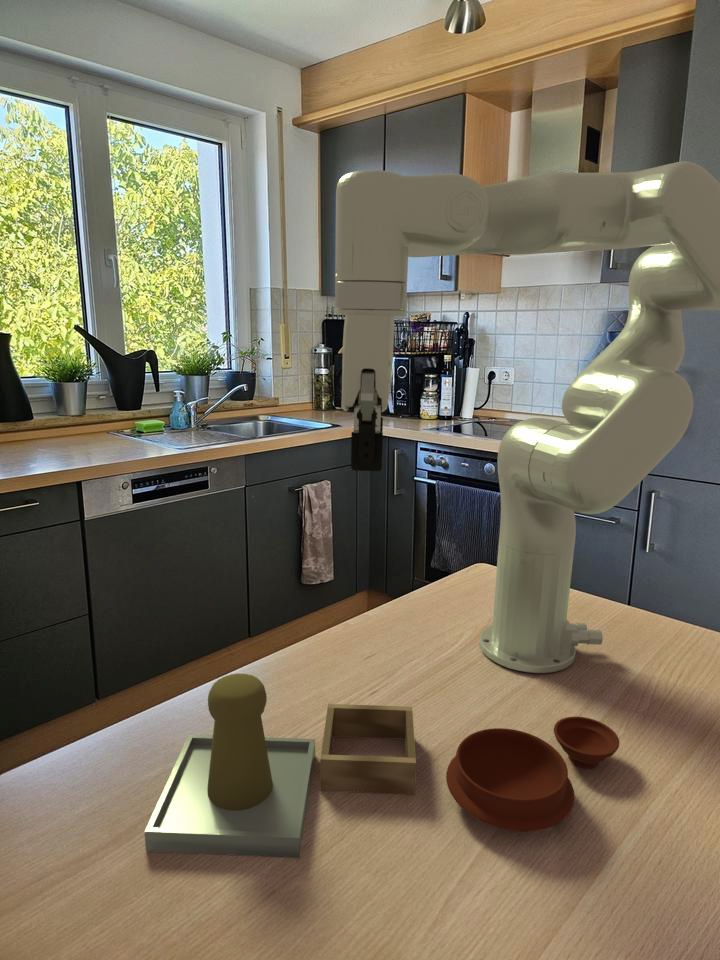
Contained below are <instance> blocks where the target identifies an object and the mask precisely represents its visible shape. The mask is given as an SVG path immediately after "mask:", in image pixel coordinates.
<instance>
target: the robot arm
mask: <svg viewBox="0 0 720 960" xmlns="http://www.w3.org/2000/svg"><path fill="white" fill-rule="evenodd" d="M336 185H337V186H336V190H335V261H334V263H335V266H334V267H335V271H334V272H335V273H334V275H335V278H334V279H335V283H334V285H335V286H334V294H335V295H334V301H335V302H334V314H335V315H341V316H342V315H343V316H344V323H343V324H344V325H343V338H342V365H341V366H342V368H341V369H342V371H341V373H342V375H341V402H340V403H341V406H340V407H341V409H342V410H343V411H344V412H348V411H349V408H352V407H354V408H353V409H354V410H353V413H354V414H353V431H351V443H350V448H351V449H350V452H351V453H350V468H351V470H352V471H357V472H358V471H359V472H362V471H363V472H380V471H381V470H382V468H383V440H384V439H383V436H384V435H383V434H384V433H383V428H384V427H383V426H384V425H383V423H384V422H383V421H384V417H382V413H383V412H385V411H386V410H387V409H388V405H389V401H390V393H391V386H392V385H391V384H392V378H393V377H392V376H393V362H394V346H395V345H394V343H395V338H394V337H395V319H396V318H395V316H396V317H397V316H398V317H399V316H400V317H401V316H403V317H404V316H407V300H408V299H407V297H408V296H407V295H408V291H407V290H408V275H409V274H408V269H409V258H426V257H427V258H428V257H429V258H430V257H444V256H446V257H449V256H465V255H467V256H468V255H483V254H484V255H486V254H500V255H501V254H505V255H534V254H535V255H537V254H551V253H552V254H553V253H555V254H556V253H570V252H584V251H585V252H586V251H587V252H588V251H605V250H606V251H609V250H626V249H636V248H637V249H638V248H644V247H649V248H648V249H646V250H645V251H643V252H642V253H641V254H640V255H639V256H638V257H637V258H636V260H635V261H634V263H633V265H632V267H631V270H630V274H629V277H628V313H627V319H626V322H625V325H624V327H623V328H622V330H621V331H620V332H619V333H618V335H617V336H616V337H615V338H614V340H612V342H610V344H608V346H607V347H606V348H604V350H602V351H601V352H600V353H599V355H598V356H596V357H595V358H594V359H593V360H592V361H591V362H590V363H589V364H588V365H587V366H586V367H585V368H584V369H583V370H582V371H581V372H580V373H579V374H578V375H576V377H575V378H574V379H573V380H572V381H571V383H570V384H569V386H568V387H567V388H566V390H565V392H564V394H563V396H562V400H561V401H562V402H561V411H562V414H563V416H564V418H565V420H566V421H567V422H564V421H560V420H555V419H551V418H544V417H532V418H527V419H523V420H521V421H519V422H517V423H515V424H513V425H512V426H511V427H510V428H509V429H508V430H507V431H506V433H505V434H504V436H503V437H502V439H501V441H500V444H499V446H498V452H497V462H496V463H497V474H498V476H497V477H498V484H499V492H500V522H499V523H500V524H499V534H498V535H499V537H498V548H497V560H496V561H497V562H496V574H495V587H494V589H495V590H494V602H493V616H492V624H491V625H489V626H488V627H485V629H483V631H482V632H481V634H480V637H479V646H480V647H479V648H480V649H481V651H482V653H483V654H485V656H486V657H487V658H488V659H490V660H491V661H493V662H494V663H496V664H498V665H499V666H502V667H504V668H508V669H511V670H514V671H518V672H523V673H529V674H530V673H532V674H548V673H556V672H559V671H563V670H564V669H566V668H568V667H570V666H571V665H573V663H574V661H575V659H576V652H577V651H576V647H578V646H579V644H583V645H584V644H586V645H593V646H594V645H596V646H597V645H600V646H601V645H602V643H603V632H602V630H600V629H588V626H587V623H586V622H585V623H584V622H569V621H568V619H567V618H568V609H569V601H570V600H569V599H570V592H571V591H570V589H571V581H572V572H573V561H574V553H575V546H576V545H575V544H576V535H577V528H576V527H577V523H576V515H575V512H576V513H580V514H584V515H585V514H586V515H596V514H601V513H604V512H606V511H607V512H608V510H611V509H612V508H614V507H615V506H616V505H618V504H619V503H620V502H621V501H623V500H624V499H625V498H626V497H627V496H628V495H629V494H630V493H631V492H632V491H633V490H634V489H635V488H636V487H637V486H638V485H639V484H640V483H641V482H642V481H643V480H644V479H645V478H646V477H647V476H648V475H649V473H651V471H653V469H654V468H655V467H656V466H657V465H659V463H661V461H662V460H663V459H664V458H665V457H666V456H667V455H668V454H669V453H670V452H671V451H672V449H674V448H675V446H677V444H678V443H679V442H680V440H681V439H682V437H683V436H684V434H686V431H687V429H688V427H689V424H690V421H691V419H692V415H693V411H694V396H693V392H692V389H691V386H690V385H689V383H688V381H686V379H685V378H684V377H683V376H681V375H680V374H678V373H677V372H676V371H677V369H678V368H679V367H680V366H681V364H682V362H683V359H684V356H685V350H686V344H685V336H684V330H683V319H682V311H720V182H719V181H718V180H717V179H716V178H715V177H714V176H713V174H712V173H710V172H709V170H707V169H705V168H704V167H702V165H699V164H697V163H695V162H692V161H685V160H683V161H677V162H673V163H668V164H663V165H659V166H655V167H651V168H647V169H643V170H637V171H630V172H629V171H627V172H616V171H615V172H611V171H610V172H608V171H607V172H561V171H560V172H556V171H555V172H547V173H540V174H534V175H528V176H524V177H520V178H516V179H513V180H509V181H505V182H501V183H500V182H499V183H494V184H489V185H483V186H482V185H481V184H480V183H478V182H477V181H476V180H474V178H471V177H469V176H467V175H463V174H461V173H460V174H459V173H438V174H424V175H423V174H421V175H420V174H418V175H415V174H414V175H403V174H401V173H398V172H394V171H388V170H379V169H364V170H361V169H360V170H355V171H352V172H348V173H345V174H344V175H342V176H341V178H340V179H339V180H338V182H337V184H336Z"/></svg>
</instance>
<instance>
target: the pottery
mask: <svg viewBox="0 0 720 960" xmlns="http://www.w3.org/2000/svg"><path fill="white" fill-rule="evenodd" d="M553 734H554V736H555V739H556V741H557V742H558V744H559V745H560V747H561V748H562V750H563V751H564V752H565V754H566V755H568V757H567V758H568V759H569V761H570V763H572V764H573V765H574V766H576V767H579V768H580V769H587V770H588V769H589V770H590V769H591V770H592V769H595V768H596V767H598V765H599V763H601V762H604V761H606V760H607V759H608V758H610V757H612V756H613V755H614V754H615V753H616V752H617V750H618V749H619V747H620V738H619V737H618V735H617V733H616V732H615V731H614V730H613V728H610V727H609V726H608V725H607V724H605V723H604V722H602V721H599V720H596V719H593V718H590V717H585V716H567V717H564V718H561V719H559V720H558V721H557V722H556V723H555V724H554V725H553ZM445 777H446V778H445V781H446V785H447V788H448V791H449V794H450V795H451V796H452V798H453V800H455V802H456V803H457V804H458V805H459V807H460V808H462V809H463V810H464V811H465V812H466V813H468V814H469V815H471V816H472V817H474V818H475V819H477V820H479V821H481V822H482V823H484V824H487V825H490V826H492V827H495V828H498V829H502V830H506V831H512V832H513V831H514V832H521V833H522V832H528V833H529V832H538V831H543V830H544V831H545V830H547V829H550V828H553V827H555V826H557V825H559V824H560V823H561V822H563V821H565V820H566V819H567V817H569V815H570V814H571V812H572V811H573V808H574V805H575V789H574V786H573V784H572V781H571V780H570V778H569V771H568V765H567V763H566V761H565V760H564V758H563V756H562V755H561V753H559V751H557V749H555V747H553V746H552V745H551V744H549V743H548V742H546V741H545V740H543V739H541V738H540V737H538V736H535V735H533V734H531V733H528V732H525V731H521V730H517V729H512V728H502V727H501V728H499V727H498V728H497V727H496V728H493V727H492V728H486V729H482V730H481V729H480V730H478V731H476V732H473V733H471V734H469V735H468V736H466V737H465V738H464V739H463V740H462V741H461V742H460V744H459V745H458V746H457V749H456V753H455V756H454V757H453V758H452V759H451V760H450V762H449V764H448V766H447V769H446V774H445Z"/></svg>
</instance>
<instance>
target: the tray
mask: <svg viewBox="0 0 720 960" xmlns="http://www.w3.org/2000/svg"><path fill="white" fill-rule="evenodd" d="M212 740H213V734H188V735H187V738H186V740H185V742H184V744H183V746H182V749H181V751H180V753H179V755H178V757H177V759H176V762H175V764H174V765H173V768H172V771H171V773H170V775H169V777H168V780H167V782H166V784H165V785H164V788H163V790H162V792H161V795H160V797H159V799H158V801H157V803H156V805H155V807H154V810H153V811H152V814H151V816H150V819H149V820H148V823H147V825H146V827H145V829H144V845H145V852H151V853H152V852H157V853H177V854H179V853H180V854H196V855H197V854H200V855H219V856H220V855H222V856H223V855H224V856H226V855H227V856H246V857H268V858H269V857H271V858H273V857H274V858H290V859H291V858H293V859H298V858H299V859H300V855H301V851H302V843H303V837H304V831H305V824H306V823H305V822H306V817H307V811H308V805H309V804H308V803H309V798H310V793H311V792H310V791H311V785H312V778H313V773H314V772H313V771H314V764H315V759H316V739H315V738H296V737H295V738H292V737H291V738H290V737H271V736H270V737H267V736H265V742H266V747H267V753H268V759H269V765H270V770H271V776H272V782H273V787H272V791H271V793H270V794H269V796H268V797H267V799H265V800H264V801H263V802H261V803H260V804H259V805H256V806H254V807H252V808H250V809H245V810H239V811H236V810H226V809H222V808H219V807H218V806H216V805H215V804H213V803H212V802H211V800H210V799H209V797H208V791H207V787H208V778H209V768H210V759H211V749H212Z"/></svg>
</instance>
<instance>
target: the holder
mask: <svg viewBox="0 0 720 960" xmlns="http://www.w3.org/2000/svg"><path fill="white" fill-rule="evenodd" d="M335 737H336V738H337V737H338V738H339V737H340V738H362V739H364V738H365V739H366V738H367V739H368V738H369V739H392V740H393V739H394V740H398V739H399V740H404V755H405V756H404V757H402V756H401V757H400V756H399V757H398V756H397V757H396V756H377V755H376V756H370V755H350V754H348V755H347V754H346V755H343V754H333V748H334V746H333V745H334V741H335V740H334V739H335ZM415 741H416V740H415V729H414V714H413V706H401V705H400V706H399V705H398V706H397V705H375V704H374V705H371V704H348V703H347V704H346V703H345V704H341V703H328V704H327V709H326V717H325V724H324V731H323V738H322V744H321V745H322V746H321V750H320V751H321V752H320V759H319V762H320V764H319V765H320V766H319V767H320V771H319V774H320V776H319V779H320V782H319V785H320V786H319V788H320V789H319V790H320V792H337V793H338V792H340V793H341V792H342V793H348V792H349V793H364V794H365V793H368V794H370V793H371V794H394V795H395V794H396V795H416V794H415V793H416V792H415V791H416V771H417V770H416V769H417V758H416V757H417V755H416V743H415Z"/></svg>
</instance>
